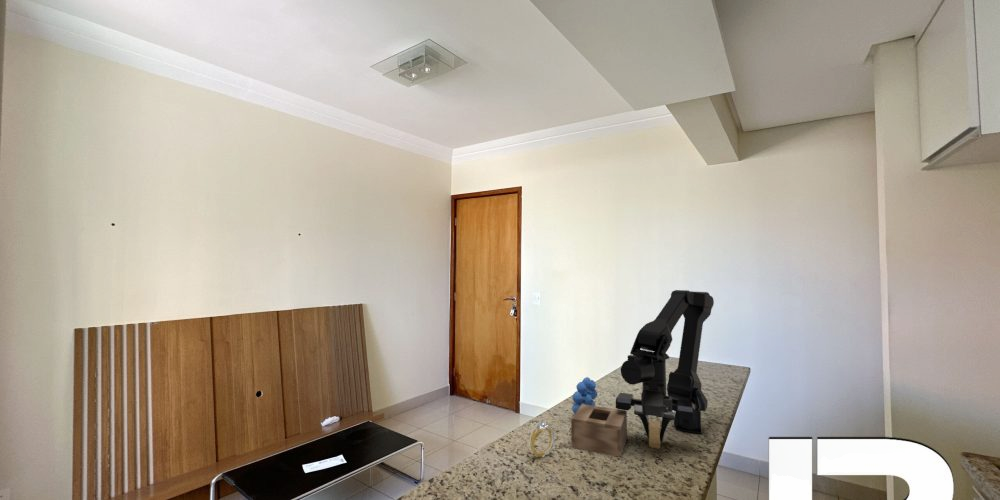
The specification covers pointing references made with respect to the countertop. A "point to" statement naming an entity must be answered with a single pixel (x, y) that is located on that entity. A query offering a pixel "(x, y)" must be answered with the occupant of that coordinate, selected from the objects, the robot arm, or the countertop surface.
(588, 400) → the grapes
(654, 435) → the tan flat block
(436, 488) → the countertop surface
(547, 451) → the ring
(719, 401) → the countertop surface
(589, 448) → the box
